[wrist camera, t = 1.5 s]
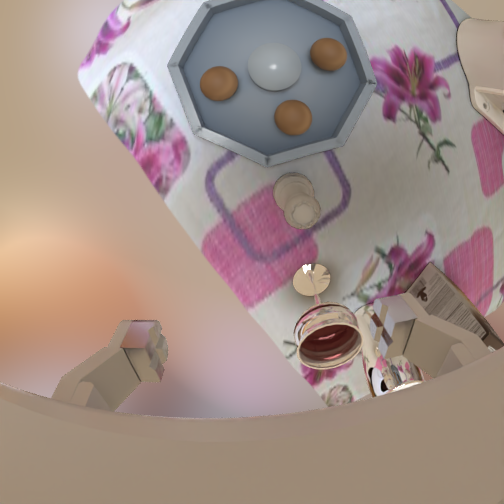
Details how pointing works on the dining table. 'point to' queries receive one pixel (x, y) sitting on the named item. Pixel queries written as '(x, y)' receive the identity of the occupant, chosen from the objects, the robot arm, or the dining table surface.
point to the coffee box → (452, 305)
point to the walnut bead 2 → (293, 117)
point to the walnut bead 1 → (218, 83)
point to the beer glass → (383, 362)
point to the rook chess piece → (297, 200)
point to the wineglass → (324, 324)
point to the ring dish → (256, 106)
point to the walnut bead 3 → (328, 54)
